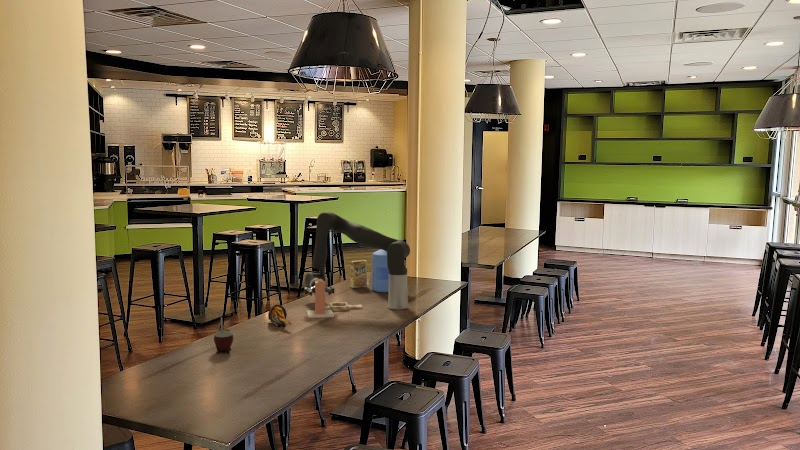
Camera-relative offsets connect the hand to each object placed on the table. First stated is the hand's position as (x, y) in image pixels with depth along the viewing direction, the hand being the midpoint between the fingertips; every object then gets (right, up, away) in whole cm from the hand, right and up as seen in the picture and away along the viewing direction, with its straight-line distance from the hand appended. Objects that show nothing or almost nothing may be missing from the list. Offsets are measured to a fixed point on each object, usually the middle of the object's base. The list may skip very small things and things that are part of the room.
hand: (320, 293), depth 295 cm
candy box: (+14, -4, +66) cm, 67 cm away
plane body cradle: (+7, -9, +15) cm, 19 cm away
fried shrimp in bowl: (-16, -13, -17) cm, 27 cm away
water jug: (+29, -5, +59) cm, 66 cm away
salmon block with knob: (-1, -10, +3) cm, 10 cm away
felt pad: (0, -10, +3) cm, 11 cm away
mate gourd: (-30, -16, -55) cm, 65 cm away
